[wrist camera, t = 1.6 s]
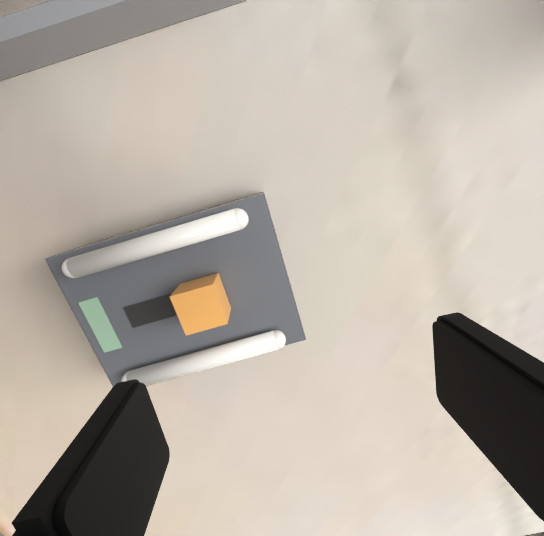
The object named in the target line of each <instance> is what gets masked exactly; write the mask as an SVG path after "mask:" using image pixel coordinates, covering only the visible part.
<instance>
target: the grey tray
mask: <svg viewBox="0 0 544 536" xmlns="http://www.w3.org/2000/svg"><path fill="white" fill-rule="evenodd" d="M243 1H246V0H51V1H48V2H45V3H42V4H39V5H36V6H33V7H30V8H27V9H24V10H21V11H18V12H15V13H12V14H9V15H6V16H3V17H0V81H2V80H5V79H8V78H11V77H14V76H17V75H20V74H23V73H26V72H29V71H32V70H35V69H38V68H41V67H44V66H48V65H51V64H54V63H57V62H60V61H63V60H66V59H69V58H72V57H75V56H78V55H81V54H84V53H87V52H90V51H93V50H96V49H99V48H103V47H106V46H109V45H112V44H115V43H118V42H121V41H124V40H127V39H130V38H133V37H136V36H139V35H142V34H145V33H148V32H151V31H155V30H158V29H161V28H164V27H167V26H170V25H173V24H176V23H179V22H182V21H185V20H188V19H191V18H194V17H197V16H200V15H203V14H207V13H210V12H213V11H216V10H219V9H222V8H225V7H228V6H231V5H234V4H237V3H240V2H243Z"/></svg>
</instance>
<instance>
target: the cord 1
mask: <svg viewBox="0 0 544 536" xmlns="http://www.w3.org/2000/svg"><path fill="white" fill-rule="evenodd" d="M248 221H249V218H248V215H247V213H246V212H245V211H244V210H243V209H240V208H235V209H231V210H228V211H225V212H221V213H218V214H215V215H211V216H208V217H205V218H201V219H198V220H194V221H191V222H188V223H184V224H181V225H178V226H174V227H171V228H168V229H164V230H161V231H158V232H154V233H151V234H148V235H144V236H141V237H137V238H134V239H131V240H127V241H124V242H121V243H117V244H114V245H111V246H107V247H104V248H101V249H97V250H94V251H91V252H87V253H84V254H81V255H77V256H74V257H70V258H68V259H66V260H65V261H64V262H63V264H62V271H63V273H64V274H65V275H66V276H68V277H70V278H79V277H83V276H86V275H90V274H93V273H96V272H100V271H103V270H107V269H110V268H113V267H117V266H120V265H123V264H127V263H130V262H134V261H137V260H140V259H144V258H147V257H151V256H154V255H157V254H161V253H164V252H167V251H171V250H174V249H178V248H181V247H184V246H188V245H191V244H195V243H198V242H201V241H205V240H208V239H212V238H215V237H218V236H222V235H225V234H228V233H232V232H235V231H239V230H242V229H244V228H245V227H246V226H247V224H248Z"/></svg>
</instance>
